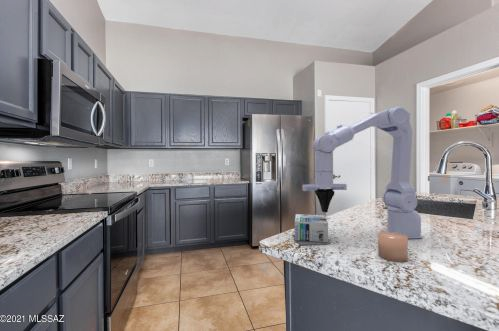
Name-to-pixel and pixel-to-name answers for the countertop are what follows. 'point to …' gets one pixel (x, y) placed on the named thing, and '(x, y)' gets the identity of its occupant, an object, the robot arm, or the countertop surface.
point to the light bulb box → (311, 228)
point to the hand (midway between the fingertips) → (324, 211)
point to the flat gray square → (310, 242)
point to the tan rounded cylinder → (393, 246)
